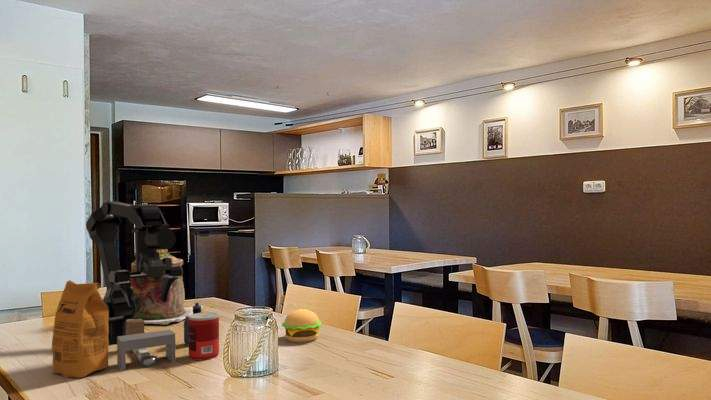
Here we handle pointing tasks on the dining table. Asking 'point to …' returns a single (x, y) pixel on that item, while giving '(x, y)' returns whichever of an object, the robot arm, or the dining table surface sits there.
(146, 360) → the steel token
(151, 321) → the cookie jar
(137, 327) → the blade tool
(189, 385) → the dining table surface
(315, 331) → the hamburger
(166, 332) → the low shelf
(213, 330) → the canned food
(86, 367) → the coffee package
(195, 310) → the vaping device
